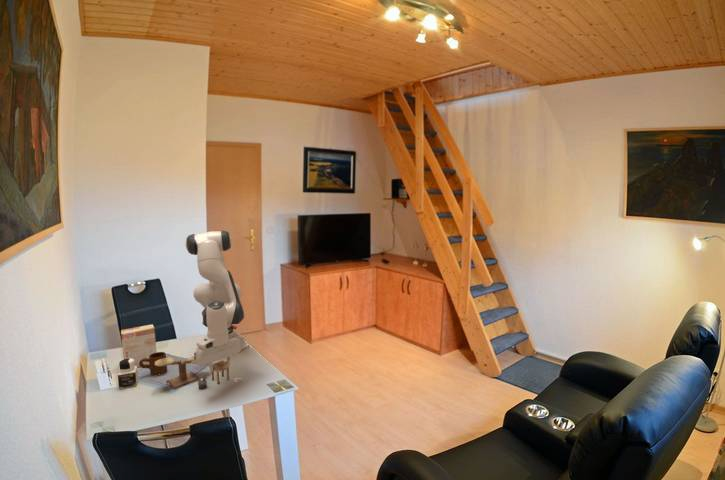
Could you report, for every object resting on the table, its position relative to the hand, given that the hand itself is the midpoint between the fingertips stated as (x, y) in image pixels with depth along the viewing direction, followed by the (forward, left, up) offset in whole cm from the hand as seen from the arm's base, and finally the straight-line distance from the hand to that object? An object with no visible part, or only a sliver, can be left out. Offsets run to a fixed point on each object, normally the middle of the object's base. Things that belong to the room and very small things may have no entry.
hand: (220, 368), depth 180 cm
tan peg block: (0, 0, -6) cm, 6 cm away
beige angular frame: (-13, -6, -11) cm, 18 cm away
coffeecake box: (+14, -57, -10) cm, 60 cm away
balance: (+8, -21, -10) cm, 25 cm away
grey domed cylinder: (+5, -8, -10) cm, 14 cm away
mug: (+14, -40, -10) cm, 44 cm away
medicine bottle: (+26, -38, -10) cm, 47 cm away
